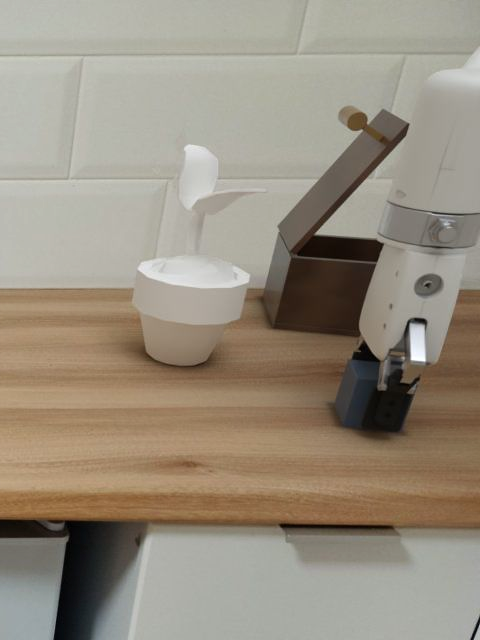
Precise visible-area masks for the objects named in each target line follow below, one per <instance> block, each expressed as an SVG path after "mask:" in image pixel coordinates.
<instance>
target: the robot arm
mask: <svg viewBox="0 0 480 640" xmlns="http://www.w3.org/2000/svg"><path fill="white" fill-rule="evenodd" d="M409 124H410V125H409V128H408V131H407V135H406V137H405V138H404V142H403V145H402V148H401V151H400V155H399V159H398V160H397V161H398V162H397V165H396V168H395V171H394V176H393V178H392V181H391V185H390V189H389V192H388V195H387V198H386V202H385V205H384V208H383V212H382V215H381V218H380V222H379V225H378V228H377V231H376V234H375V238H376V239H377V240H378V241H379V242H381V243H384V246H383V248H382V251H381V252H380V256H379V259H378V262H377V265H376V267H375V270H374V273H373V276H372V279H371V282H370V285H369V288H368V291H367V294H366V297H365V301H364V304H363V308H362V312H361V316H360V321H359V329H360V332H361V335H360V336H359V337H357V340H356V342H355V347H354V348H355V350H354V351H353V353H352V355H351V360H361V361H371V362H380V369H379V377H378V384H377V386H372V389H371V392H370V395H369V398H368V401H367V404H366V407H365V411H364V414H363V417H362V420H361V425H362V427H363V428H365V429H364V430H369V429H373V430H372V431H377V430H381V431H380V432H386V431H389V432H388V433H394V432H398V431H399V430H400V429H401V426H402V424H403V421H404V418H405V415H406V412H407V409H408V406H409V404H410V401H411V398H412V395H413V394H414V392H415V389H416V384H418V382H420V380H421V377H420V376H421V374H422V373H423V371H424V369H425V368H426V366H428V367H429V366H430V367H431V366H433V365H435V364H436V363H437V362H439V360H440V359H439V358H440V356H441V353H442V350H443V347H444V344H445V341H446V337H447V334H448V330H449V328H450V324H451V320H452V318H453V314H454V311H455V307H456V304H457V300H458V297H459V293H460V289H461V284H462V280H463V276H464V271H465V265H466V259H467V258H466V257H467V254H470V253H472V252H475V249H476V246H477V243H478V240H479V238H480V45H479V46H478V47H477V48H476V49H475V51H474V52H472V54H471V55H470V56H469V57H468V59H467V60H466V61H465V62H464V63H463V65H462V66H461V68H449V69H442V70H439V71H437V72H434V73H432V74H430V75H429V76H428V78H426V80H425V81H423V84H422V85H421V88H420V89H419V93H418V95H417V98H416V102H415V105H414V109H413V112H412V115H411V119H410V122H409ZM391 352H392V353H393V352H395V353H404V355H396V354H391ZM391 365H399V366H402V368H401V369H396V370H395V371H394V372H393V373H392V374H391V375H390V376H389V374H390V367H391ZM416 390H417V389H416ZM415 393H416V392H415Z"/></svg>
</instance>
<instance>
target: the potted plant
mask: <svg viewBox="0 0 480 640" xmlns="http://www.w3.org/2000/svg"><path fill="white" fill-rule="evenodd" d="M170 143H172V144H174V145H175V147H176V152H177V163H179V161H180V159H181V155H182V153H183V163H182V168H181V171H180V173H179V176H178V172H177V171H176V172H175V175H174V176H173V178H172V179H169V181H170V182H171V183H172V184H173V185H172V186H173V191H175V190H176V189H177V190H176V191H177V192H176V197H177V199H178V201H179V202H180V204H181V206H182V207H183V209H184V210H185V211H186V210H187V211H191V212H192V213H191V214H190V217H189V220H188V221H187V228H186V237H185V254H182V255H176V256H175V255H174V256H172V257H157V258H153V259H149V260H144V261H141V262H140V264H139V265H138V267H137V268H136V275H135V276H136V277H135V279H134V285H133V286H134V287H133V292H132V298H131V305H132V306H133V307H134V308H135V309H136V310H138V311H139V318H140V323H141V329H142V335H143V341H144V348H145V352H146V353H147V354H148V356H150V357H151V358H152V359H153V360H155V361H157V362H160V363H162V364H164V365H168V366H169V365H170V366H175V367H176V366H177V367H193V366H196V365H199V364H202V363H204V362H207V360H208V359H209V357H210V355H211V354H212V352H213V351H214V349H215V347H216V345H217V344H218V343H219V341H220V339H221V337H222V336H223V334H224V333H225V331H226V329H227V328H228V326H229V325H230V323H231V322H234V321H237V320H240V319H241V316H242V312H243V307H244V304H245V299H246V295H247V291H248V287H249V281H250V278H251V274H249V273H248V272H246V271H244V270H243V269H241V268H240V267H238V266H235V265H234V264H233V263H231V262H229V261H226V260H223V259H220V258H218V257H215V256H212V255H210V254H207V253H204V254H203V253H202V254H201V253H200V246H201V240H202V235H203V234H202V233H203V229H204V228H203V227H204V222H205V217H206V215H207V216H214V215H216V214H217V213H219V212H221V211H223V210H224V209H226V208H228V207H229V206H230V205H232V204H234V203H235V202H237V201H238V200H239V199H241V198H243V197H245V196H251V195H254V194H258V193H259V194H268V191H269V190H268V189H263V188H230V189H225V190H224V189H223V190H219V191H214V189H215V186H216V183H217V181H218V179H219V175H220V174H219V173H220V172H219V170H220V169H219V159H218V158H217V157H216V156H215V155H214V154H213V153H212V152H211V151H210V150H208V148H206V147H205V146H202V145H201V146H200V145H195V144H192V143H190V142H188V140H187V138H186V136H185V123H183V125H182V128H181V130H180V132H179V135H178V136H177V138H175V139H174V140H170ZM151 170H152V171H153V172H154V174H155V179H157V178H158V175H159V173H160V172H161V171H163V168H161V167H160V163H159V160H157V163H156V165H155V166H154V167H152V168H151ZM176 187H177V188H176Z"/></svg>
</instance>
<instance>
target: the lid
mask: <svg viewBox="0 0 480 640" xmlns="http://www.w3.org/2000/svg"><path fill="white" fill-rule="evenodd" d="M337 119H338V121H339V122H340V123H341V124H342V125H343V126H344V127H346V128H347V129H349V130H350V131H352V132H358V131H361V132H360V133H359V134H358V135H357V136H356V138H355V139H354V140H353V141H352V142H351V143H350V144H349V145H348V147H346V149H345V150H344V151H343V152H342V153H341V154H340V156H338V158H336V160H335V161H334V162H333V163H332V165H331V166H330V167H329V168H328V169H327V170H326V171H325V172H324V173H323V174H322V175H321V177H320V178H319V179H318V180H317V181H316V182H315V183H314V185H312V186H311V188H310V189H309V190H308V191H307V192H306V193H305V194H304V195H303V197H302V198H300V200H299V201H298V202H297V203H296V205H294V207H293V208H292V209H291V210H290V211H289V212H288V213H287V214H286V216H284V218H283V219H282V220H281V221H280V222H279V223H278V225H277V226H276V227H277V229H278V232H280V233H281V235H282V237H283V239H284V241H285V243H286V245H287V247H288V249H289V251H290V252H291V253H292V254H294V255H296V253H297V252H298V251H299V250H300V249H301V248H302V247H303V246H304V245H305V244H306V243H307V242H308V241H309V240H310V238H311V237H312V236H313V235H314V234H316V233H317V232H318V231H319V230H320V229H321V228H322V227H323V226H324V225H325V223H327V222H328V220H329V219H330V218H331V217H332V216H333V215H334V214H335V213H336V212H337V211H338V210H339V209H340V208H341V206H342V205H343V204H345V202H347V200H348V199H349V198H350V197H351V196H352V195H353V193H355V192H356V190H357V189H358V188H359V187H360V186H361V185H362V184H363V183H364V182H365V181H366V180H367V179H368V178H369V176H371V174H372V173H373V172H374V171H375V170H376V169H377V168H378V167H379V166H380V165H381V164H382V162H383V161H385V160H386V158H387V157H388V156H390V154H391V153H392V152H393V151H394V149H395V148H397V147H398V145H399V144H400V143H402V141H403V140H405V138H406V135H407V131H408V128H409V125H410V122H408V121H406V120H404V119H403V118H400V117H399V116H397V115H395V114H393V113H392V112H390V111H388V110H387V109H385V108H381V110H380V111H379V112H378V113H377V114H376V116H374V117H373V119H372V120H371V121H370V122H369V123H368V121H369V119H368V115H367V114H366V113H365V112H363V111H362V110H360V108H357V107H356V106H354V105H350V104H349V105H346V106H343V107H342V108H341V109H340V110H339V112H338V113H337Z"/></svg>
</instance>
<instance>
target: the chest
mask: <svg viewBox="0 0 480 640" xmlns="http://www.w3.org/2000/svg"><path fill="white" fill-rule="evenodd" d="M383 246H384V243H381V242H379V241H378V240H377V239H376V237H375V238H374V237H362V236H361V237H360V236H347V235H331V234H318V233H317V234H316V233H315V234H314V235H313V236H312V237H311V238H310V240H309V241H308V242H307V243H306V244H305V245H304V246H303V247H302V248H301V249H300V250H299V251H298V252H297V253H296V255H294V254H292V253H291V252H290V251H289V249H288V247H287V245H286V243H285V241H284V239H283V237H282V235H281V233H280V231H278V233H277V236H276V241H275V245H274V249H273V253H272V257H271V261H270V265H269V269H268V273H267V277H266V281H265V285H264V289H263V294H262V301H263V304H264V307H265V310H266V312H267V315H268V318H269V321H270V324H271V327H272V329H273V330H283V331H294V332H306V333H315V334H326V335H335V336H344V337H345V336H346V337H356V338H359V336H360V335H361V332H360V329H359V321H360V316H361V312H362V308H363V304H364V301H365V297H366V294H367V291H368V288H369V285H370V282H371V279H372V276H373V273H374V270H375V267H376V265H377V262H378V259H379V256H380V252H381V251H382V248H383Z"/></svg>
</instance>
